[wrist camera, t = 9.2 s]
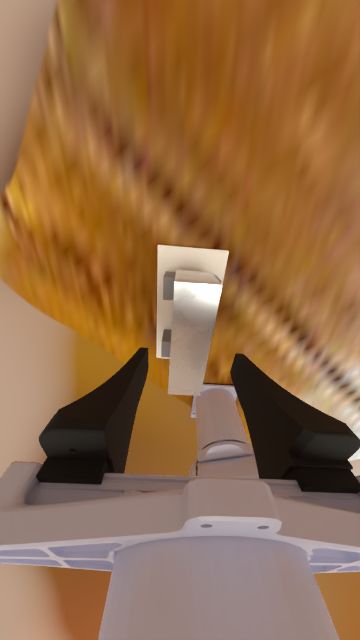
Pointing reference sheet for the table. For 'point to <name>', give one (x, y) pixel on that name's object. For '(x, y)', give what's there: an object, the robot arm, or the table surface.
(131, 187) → the table surface
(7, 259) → the table surface
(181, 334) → the white long rectangular piece
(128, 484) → the robot arm
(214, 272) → the peg rack
